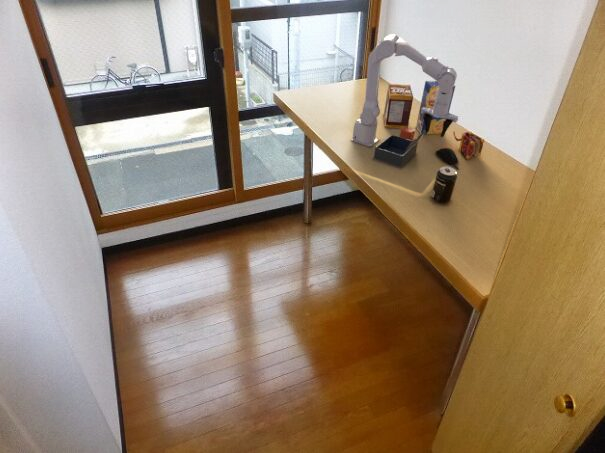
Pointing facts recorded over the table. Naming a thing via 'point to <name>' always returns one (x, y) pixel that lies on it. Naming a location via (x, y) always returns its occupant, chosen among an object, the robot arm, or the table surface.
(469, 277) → the table surface
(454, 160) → the gaming mouse
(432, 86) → the beverage box
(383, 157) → the storage box
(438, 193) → the beverage can
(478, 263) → the table surface
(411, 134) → the small box
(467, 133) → the book monster
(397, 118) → the supplement box
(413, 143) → the flap
